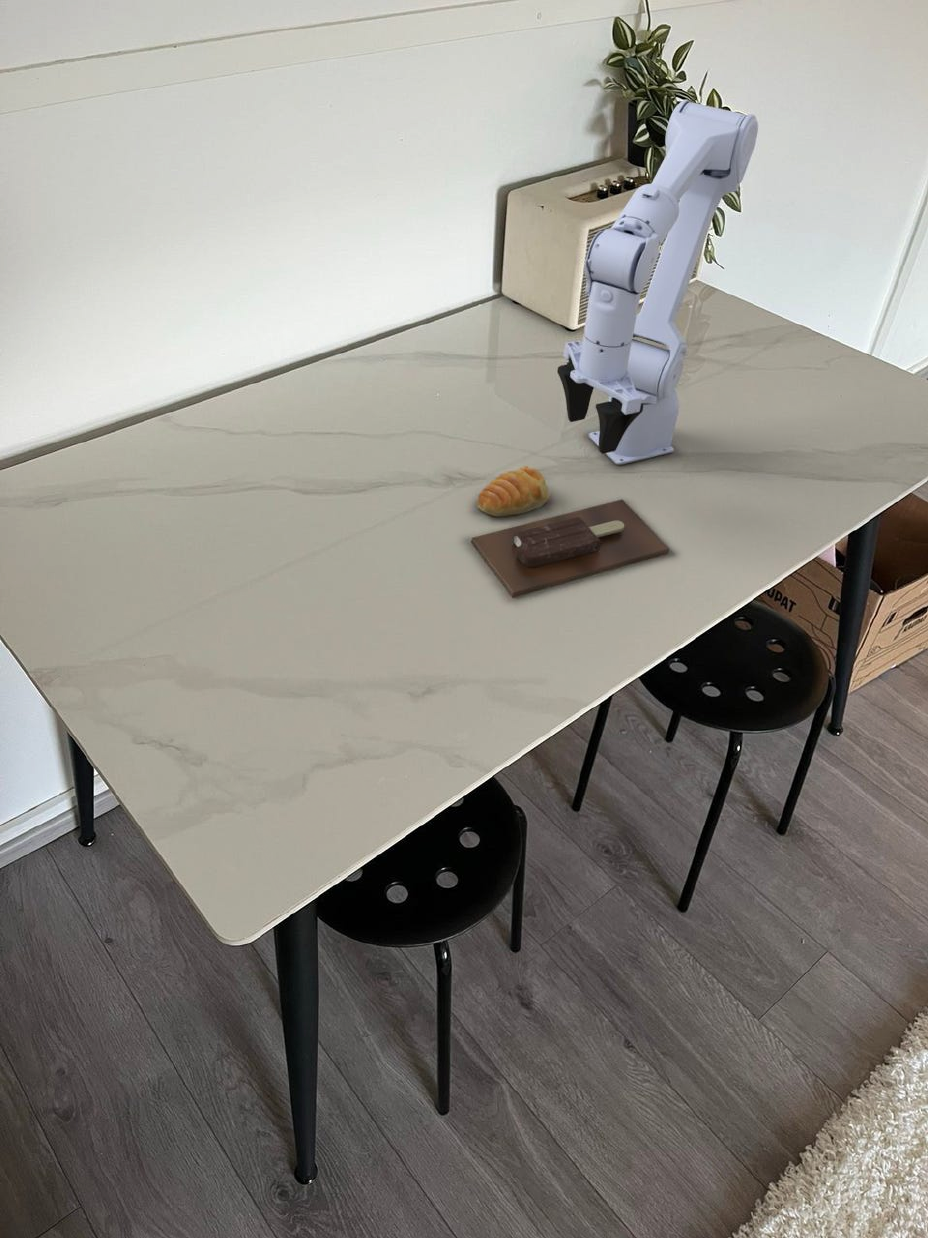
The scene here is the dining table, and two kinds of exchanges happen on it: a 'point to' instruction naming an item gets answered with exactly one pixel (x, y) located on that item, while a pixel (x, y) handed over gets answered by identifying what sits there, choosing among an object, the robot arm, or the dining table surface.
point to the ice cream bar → (561, 541)
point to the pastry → (514, 493)
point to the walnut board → (613, 553)
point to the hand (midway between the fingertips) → (591, 434)
